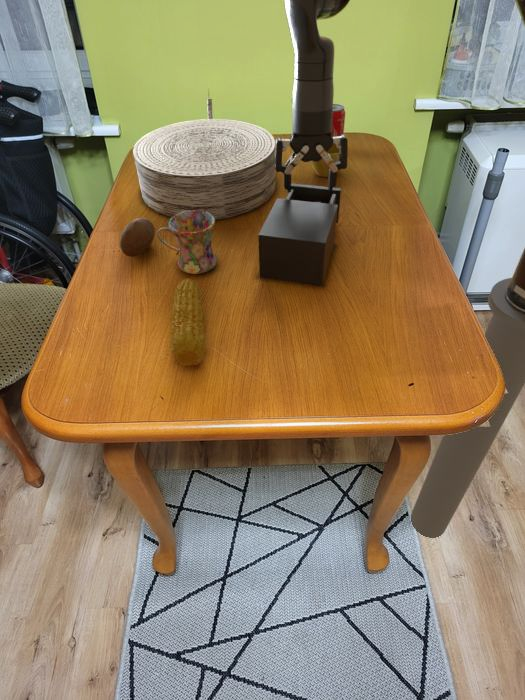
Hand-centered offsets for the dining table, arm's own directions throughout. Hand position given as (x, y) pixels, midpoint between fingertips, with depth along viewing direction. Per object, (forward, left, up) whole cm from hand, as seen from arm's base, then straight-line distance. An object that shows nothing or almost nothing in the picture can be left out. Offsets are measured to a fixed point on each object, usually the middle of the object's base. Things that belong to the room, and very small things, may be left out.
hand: (309, 190), depth 99 cm
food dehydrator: (+22, -28, -11) cm, 37 cm away
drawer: (-1, -1, -10) cm, 10 cm away
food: (+26, +29, -11) cm, 40 cm away
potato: (+37, +2, -11) cm, 38 cm away
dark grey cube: (+4, +10, -10) cm, 15 cm away
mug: (+26, +9, -11) cm, 29 cm away
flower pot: (-9, -30, -11) cm, 33 cm away
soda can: (-13, -44, -11) cm, 47 cm away
